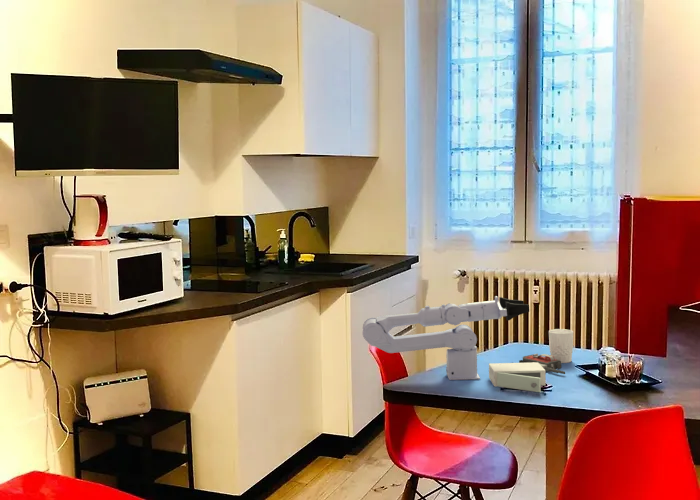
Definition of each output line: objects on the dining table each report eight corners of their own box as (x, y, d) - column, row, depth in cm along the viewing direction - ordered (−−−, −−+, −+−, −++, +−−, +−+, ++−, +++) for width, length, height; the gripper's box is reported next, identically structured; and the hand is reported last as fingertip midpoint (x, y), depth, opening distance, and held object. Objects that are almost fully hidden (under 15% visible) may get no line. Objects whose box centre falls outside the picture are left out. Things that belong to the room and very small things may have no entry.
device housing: (494, 386, 224) (494, 371, 224) (489, 377, 234) (488, 363, 234) (545, 385, 223) (545, 370, 223) (538, 376, 234) (538, 362, 233)
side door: (495, 387, 222) (495, 373, 222) (498, 385, 224) (498, 372, 223) (538, 393, 215) (538, 379, 214) (540, 391, 216) (540, 377, 216)
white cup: (578, 361, 252) (578, 331, 251) (562, 364, 248) (562, 334, 247) (559, 357, 259) (559, 328, 258) (543, 360, 254) (543, 331, 253)
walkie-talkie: (514, 366, 249) (562, 378, 233) (513, 353, 249) (562, 364, 232) (532, 362, 254) (581, 373, 238) (532, 349, 254) (581, 359, 237)
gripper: (484, 301, 227) (530, 296, 226) (477, 294, 241) (520, 290, 241) (486, 325, 227) (532, 320, 227) (479, 316, 242) (522, 311, 241)
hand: (526, 306), depth 234 cm, fingers open, 7 cm apart
